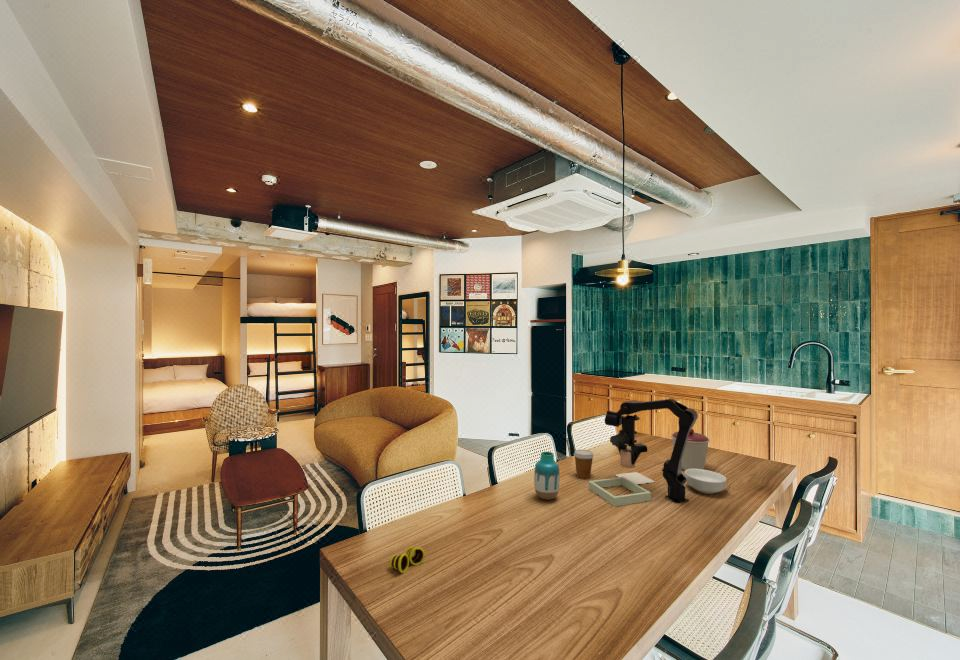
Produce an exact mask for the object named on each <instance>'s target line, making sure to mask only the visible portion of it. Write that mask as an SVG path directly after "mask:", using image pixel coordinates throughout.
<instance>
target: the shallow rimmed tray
mask: <svg viewBox="0 0 960 660" xmlns="http://www.w3.org/2000/svg"><path fill="white" fill-rule="evenodd" d="M619 485H623V486H622V487H623V488H625V487H626V488H625V489H627V488H628V489H627V490H629V491H630V490H631V491H630V492H632V491H633V492H632V493H630V494H622V495H616V496H615V495H614V494H612V493H610V492H609V491H607V490H606V489H605V488H602V487H608V488H612V487H611V486H616V487H620V486H619ZM589 489H590V490H589ZM588 490H589V491H591V490H592V491H593V493H594V492H595V493H596V494H595V493H594V494H595V495H597V494H598V495H599V496H598V495H597V496H598V497H599V498H601V497H602V498H601V499H602V500H604V499H605V500H606V502H607V503H608V502H609V503H608V504H610V505H611V504H612V505H611V506H613V507H621V506H626V505H632V503H634V504H638V503H639V502H640V503H645V501H647V502H651V501H652V492H651V491H650V490H648V489H645V488H644V487H642V486H641V485H636V484H635V483H633V482H631V481H629V480H627V479H626V478H624V477H611V478H604V479H602V478H601V479H596V480H589V481H588ZM592 491H591V492H592ZM605 500H604V501H605Z"/></svg>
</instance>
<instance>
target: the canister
mask: <svg viewBox="0 0 960 660" xmlns="http://www.w3.org/2000/svg"><path fill="white" fill-rule="evenodd" d="M677 434H678V431H675V432H673V433H671V434H670V436H671V438H672V439H671V440H672V449H673V448H674V445H675V441H676V438H677ZM709 442H711V439H710V438H709V437H707V436H706V435H704V434H702V433H698V432H695V430H694V429H693V428H692V429H691V430H690V432H689V436H688V439H687V443H686V446H685V450H684V453H683V456H682V460H681V465H682V469H681V470H682V471H685V470H687V469H703V470H705V466H706V461H707V454H708V447H709Z"/></svg>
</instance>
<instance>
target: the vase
mask: <svg viewBox="0 0 960 660" xmlns="http://www.w3.org/2000/svg"><path fill="white" fill-rule="evenodd" d="M539 459H540V460H537V461H536V463H535V466H534V476H533V477H534V478H533V479H534V480H533V481H534V482H533V483H534V492H535V494H536V495H537V497H538V498H540V499H541V500H542V499H543V500H547V501H549V500H550V501H551V500H554V499H556V497H557V496H558V494H559V491H560V482H561V481H560V480H561V479H560V466H559V464H558V462H556V461H555V457H554V453H553V452H552V451H542V452H541V453H540V457H539Z"/></svg>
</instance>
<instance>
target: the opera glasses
mask: <svg viewBox="0 0 960 660" xmlns="http://www.w3.org/2000/svg"><path fill="white" fill-rule="evenodd" d="M424 550H425V549H423V548H422V547H419V546H416V547H414V546H409V547H408V548H407V549H406V551H405V553H402V554H394V555H392V556H391V558H390V561H389V565H390V567H391V569H395V570H396V571H399V572H400V573H401V574H404V573H405V572H407V570H408V568H409V564H411V565H413V566H418V565H420V564H421V563H422V562H424V560H425V551H424ZM413 553H414V554H413ZM412 555H413V556H412Z"/></svg>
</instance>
